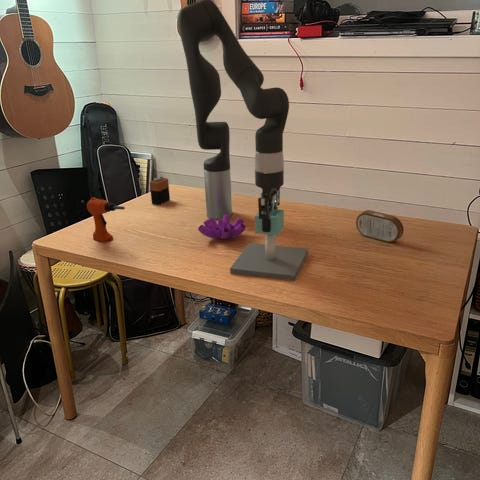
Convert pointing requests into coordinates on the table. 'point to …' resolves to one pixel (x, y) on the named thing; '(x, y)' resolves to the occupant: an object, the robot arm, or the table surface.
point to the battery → (159, 190)
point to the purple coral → (222, 228)
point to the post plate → (270, 260)
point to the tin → (379, 226)
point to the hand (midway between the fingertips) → (269, 226)
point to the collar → (276, 222)
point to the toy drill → (101, 217)
